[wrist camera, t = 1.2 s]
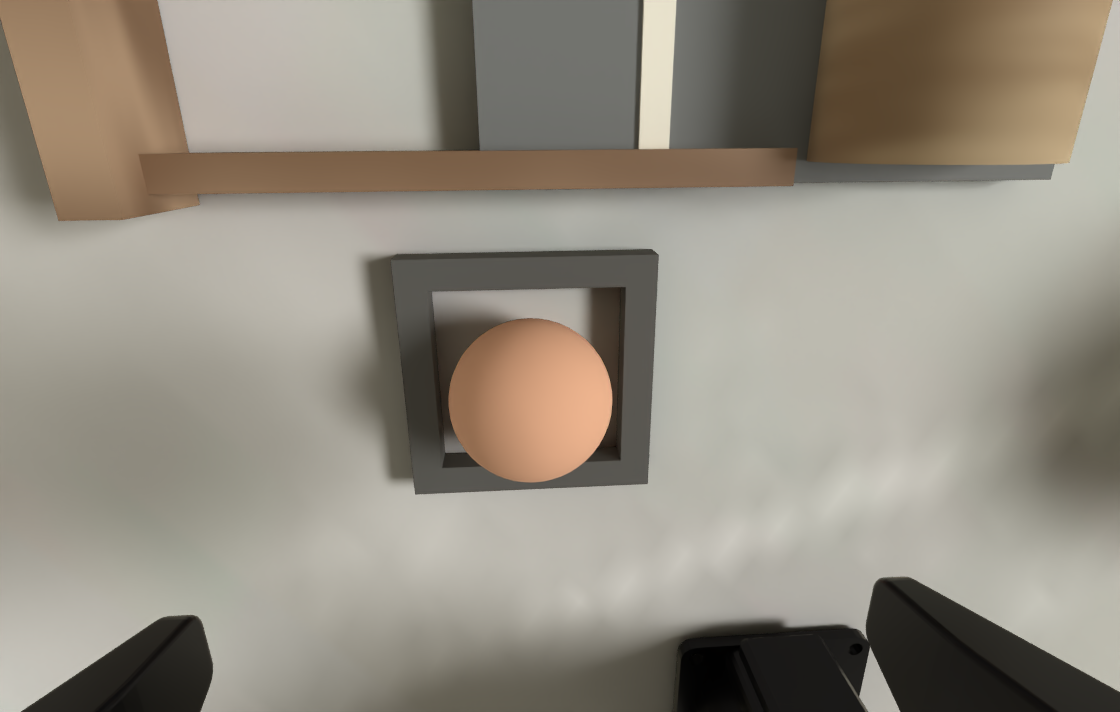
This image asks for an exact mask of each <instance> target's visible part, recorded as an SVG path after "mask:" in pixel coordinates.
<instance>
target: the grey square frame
mask: <svg viewBox="0 0 1120 712" xmlns="http://www.w3.org/2000/svg"><path fill="white" fill-rule="evenodd" d="M658 258H659V255H658V254H657V253H656V252H655V251H653V250H652V249H644V250H594V251H543V252H494V253H444V254H397V255H396V256H395V257H394V258H392V259H391V268H392V278H393V287H394V297H395V306H396V316H397V326H398V335H399V345H400V354H401V364H402V373H403V383H404V392H405V402H406V411H407V421H408V430H409V440H410V449H411V459H412V469H413V478H414V488H415V494H435V493H457V492H479V491H501V490H523V489H545V488H568V487H590V486H612V485H634V484H648V465H649V445H650V424H651V403H652V382H653V362H654V341H655V320H656V299H657V279H658ZM597 287H621V291H620V328H619V365H618V402H617V439H616V447H602V448H597V449H596V450H595V451H594V453H593V454H592V455H591V456H590V457H589V458H588V459H587V460H586V461H585V462H584V463H582V464H581V465H580V466H579V467H577V468H576V469H574V470H573V471H571V472H569V473H567V474H565V475H563V476H561V477H558V478H555V479H552V480H548V481H543V482H518V481H512V480H508V479H505V478H502V477H500V476H497V475H495V474H493V473H491V472H489V471H488V470H486V469H485V468H483V467H482V466H481V465H479V464H478V463H477V462H476V461H475V460H473V459H472V458H471V457H470V455H469V454H468V453H456V454H445V447H444V435H443V423H442V411H441V398H440V386H439V374H438V362H437V350H436V338H435V326H434V314H433V302H432V291H472V290H514V289H556V288H597Z"/></svg>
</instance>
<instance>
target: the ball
mask: <svg viewBox="0 0 1120 712" xmlns="http://www.w3.org/2000/svg"><path fill="white" fill-rule="evenodd" d="M611 411H612V389H611V384H610V379H609V376H608V373H607V370H606V367H605V365H604V363H603V361H602V359H601V358H600V356H599V355H598V353H597V352H596V351H595V349H594V348H593V347H592V346H591V345H590V343H589V342H588V341H587V340H585V339H584V338H583V337H582V336H581V335H579V334H578V333H576V332H575V331H573V330H571V329H570V328H568V327H566V326H564V325H562V324H559V323H556V322H553V321H549V320H544V319H533V318H527V319H517V320H513V321H508V322H505V323H502V324H500V325H497V326H495V327H493V328H491V329H489V330H488V331H486V332H485V333H484V334H482V335H481V336H480V337H478V338H477V339H476V340H475V341H474V342H473V343H472V344H471V345H470V346H469V347H468V348H467V349H466V351H465V352H464V353H463V355H462V357H461V358H460V360H459V362H458V364H457V366H456V368H455V370H454V373H453V376H452V379H451V383H450V389H449V412H450V418H451V422H452V425H453V429H454V431H455V434H456V436H457V438H458V440H459V441H460V443H461V445H462V446H463V448H464V449H465V451H466V452H467V453H468V454H469V455H470V457H471V458H472V459H473V460H475V461H476V462H477V463H478V464H479V465H481V466H482V467H483V468H485V469H486V470H488V471H489V472H491V473H493V474H495V475H497V476H500V477H502V478H505V479H508V480H512V481H518V482H543V481H548V480H552V479H555V478H558V477H561V476H563V475H565V474H567V473H569V472H571V471H573V470H574V469H576V468H577V467H579V466H580V465H581V464H582V463H584V462H585V461H586V460H587V459H588V458H589V457H590V456H591V455H592V454H593V453H594V451H595V450H596V449H597V447H598V446H599V444H600V443H601V441H602V439H603V437H604V435H605V433H606V430H607V428H608V425H609V421H610V417H611Z"/></svg>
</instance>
